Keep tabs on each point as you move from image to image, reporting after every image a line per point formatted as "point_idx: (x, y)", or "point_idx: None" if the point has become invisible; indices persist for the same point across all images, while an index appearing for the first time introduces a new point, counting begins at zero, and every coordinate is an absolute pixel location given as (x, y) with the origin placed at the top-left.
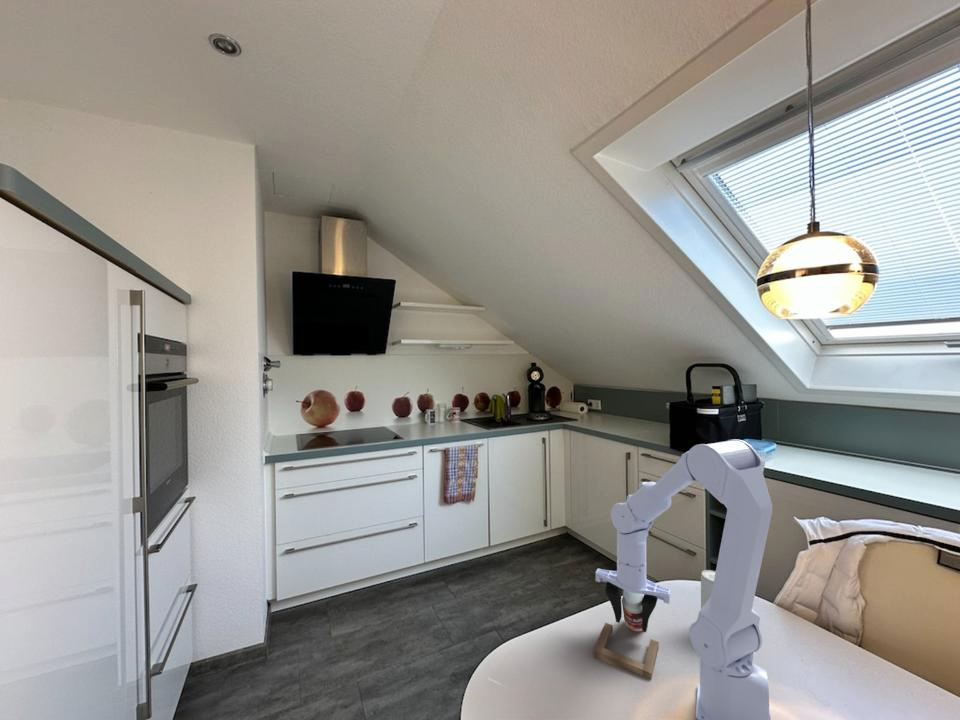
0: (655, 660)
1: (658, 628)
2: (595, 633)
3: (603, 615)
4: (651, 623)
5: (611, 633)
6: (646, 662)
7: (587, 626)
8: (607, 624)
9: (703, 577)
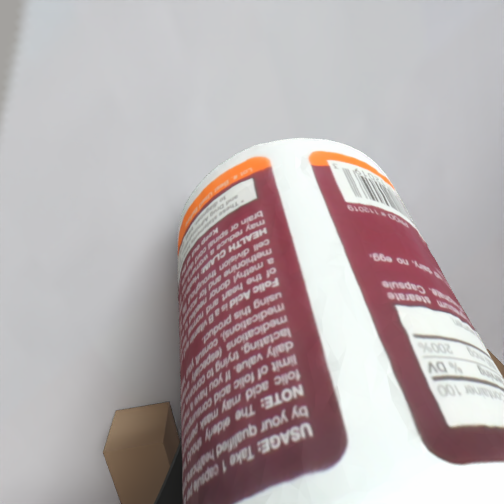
0: None
1: (459, 114)
2: (86, 478)
3: (6, 278)
4: (392, 84)
5: (176, 438)
6: None
7: (3, 460)
8: (127, 458)
9: None
